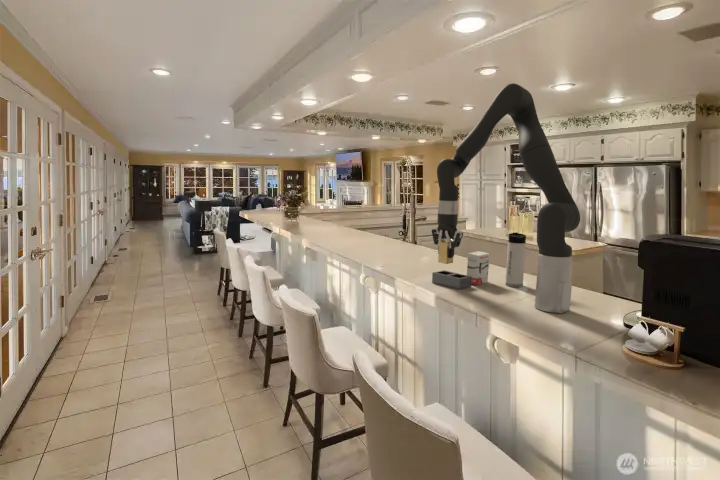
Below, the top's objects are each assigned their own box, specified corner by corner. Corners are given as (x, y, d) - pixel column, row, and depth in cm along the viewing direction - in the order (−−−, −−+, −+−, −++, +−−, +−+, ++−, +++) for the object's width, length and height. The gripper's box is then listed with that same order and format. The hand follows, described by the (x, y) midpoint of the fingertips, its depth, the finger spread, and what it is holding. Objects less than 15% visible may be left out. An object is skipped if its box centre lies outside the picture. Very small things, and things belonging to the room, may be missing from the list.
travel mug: (519, 283, 161) (523, 232, 158) (524, 287, 154) (528, 234, 152) (503, 282, 162) (506, 232, 159) (507, 287, 155) (511, 234, 152)
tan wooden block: (453, 262, 159) (454, 242, 157) (446, 264, 156) (447, 243, 155) (444, 261, 162) (445, 240, 160) (438, 262, 159) (439, 241, 158)
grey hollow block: (470, 286, 155) (471, 276, 154) (459, 289, 150) (459, 279, 150) (443, 280, 165) (444, 270, 164) (432, 282, 160) (432, 272, 160)
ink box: (477, 285, 157) (478, 255, 155) (465, 283, 160) (467, 253, 158) (488, 282, 163) (490, 252, 161) (477, 279, 166) (478, 250, 164)
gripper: (469, 213, 153) (467, 258, 156) (439, 210, 164) (437, 253, 166) (456, 214, 148) (454, 261, 151) (427, 211, 159) (425, 255, 162)
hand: (445, 256), depth 159 cm, fingers closed on tan wooden block, 4 cm apart
